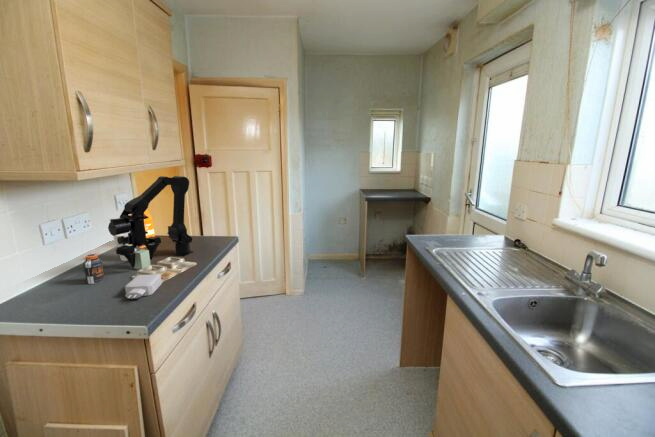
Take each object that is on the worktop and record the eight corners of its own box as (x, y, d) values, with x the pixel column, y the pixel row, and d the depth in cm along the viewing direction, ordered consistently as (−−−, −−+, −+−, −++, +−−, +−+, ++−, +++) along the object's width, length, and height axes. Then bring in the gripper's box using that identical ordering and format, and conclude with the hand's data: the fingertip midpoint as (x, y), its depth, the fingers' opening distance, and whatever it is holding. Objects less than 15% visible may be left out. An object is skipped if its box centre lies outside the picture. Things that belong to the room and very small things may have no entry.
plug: (143, 265, 141) (140, 248, 139) (150, 266, 140) (148, 249, 138) (134, 268, 137) (132, 252, 135) (142, 270, 136) (140, 253, 134)
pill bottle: (95, 285, 121) (90, 258, 118) (82, 283, 122) (77, 257, 119) (108, 278, 126) (104, 253, 124) (96, 277, 128) (91, 252, 125)
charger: (117, 305, 106) (137, 286, 121) (145, 303, 107) (162, 285, 122) (115, 292, 105) (135, 275, 120) (143, 291, 106) (160, 273, 121)
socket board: (170, 260, 147) (169, 255, 146) (196, 264, 143) (196, 258, 142) (131, 278, 127) (131, 272, 126) (161, 283, 123) (160, 276, 122)
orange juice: (155, 243, 172) (151, 209, 168) (141, 248, 165) (136, 212, 160) (146, 241, 176) (142, 207, 171) (131, 246, 168) (126, 210, 163)
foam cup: (132, 254, 155) (129, 229, 152) (144, 257, 152) (141, 231, 149) (113, 260, 147) (108, 234, 144) (124, 263, 143) (120, 236, 140)
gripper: (141, 223, 145) (145, 254, 149) (103, 234, 128) (109, 268, 131) (160, 225, 142) (163, 257, 146) (124, 236, 125) (129, 271, 128)
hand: (142, 263), depth 138 cm, fingers open, 9 cm apart
